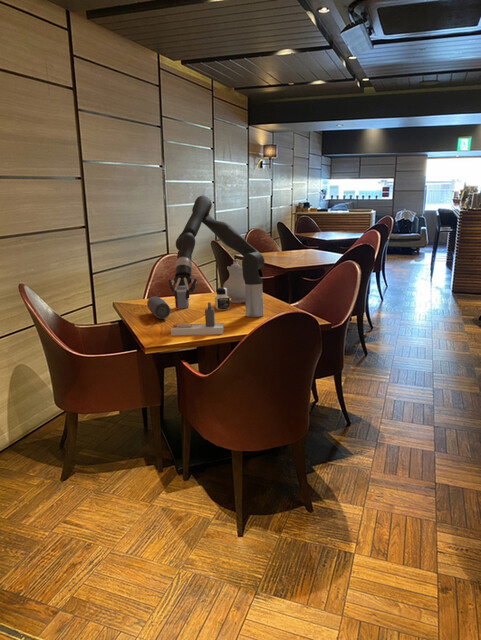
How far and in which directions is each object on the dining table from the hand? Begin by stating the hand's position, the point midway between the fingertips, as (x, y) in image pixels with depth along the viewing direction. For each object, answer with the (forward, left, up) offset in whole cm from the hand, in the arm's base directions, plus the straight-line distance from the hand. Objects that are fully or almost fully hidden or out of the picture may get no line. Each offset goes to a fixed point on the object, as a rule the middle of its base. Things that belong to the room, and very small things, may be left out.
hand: (181, 298), depth 222 cm
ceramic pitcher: (-24, -74, -17) cm, 79 cm away
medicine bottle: (-15, -53, -17) cm, 58 cm away
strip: (-6, -2, -17) cm, 18 cm away
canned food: (+9, -59, -17) cm, 62 cm away
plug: (0, -2, -5) cm, 5 cm away
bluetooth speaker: (+19, -38, -17) cm, 45 cm away
